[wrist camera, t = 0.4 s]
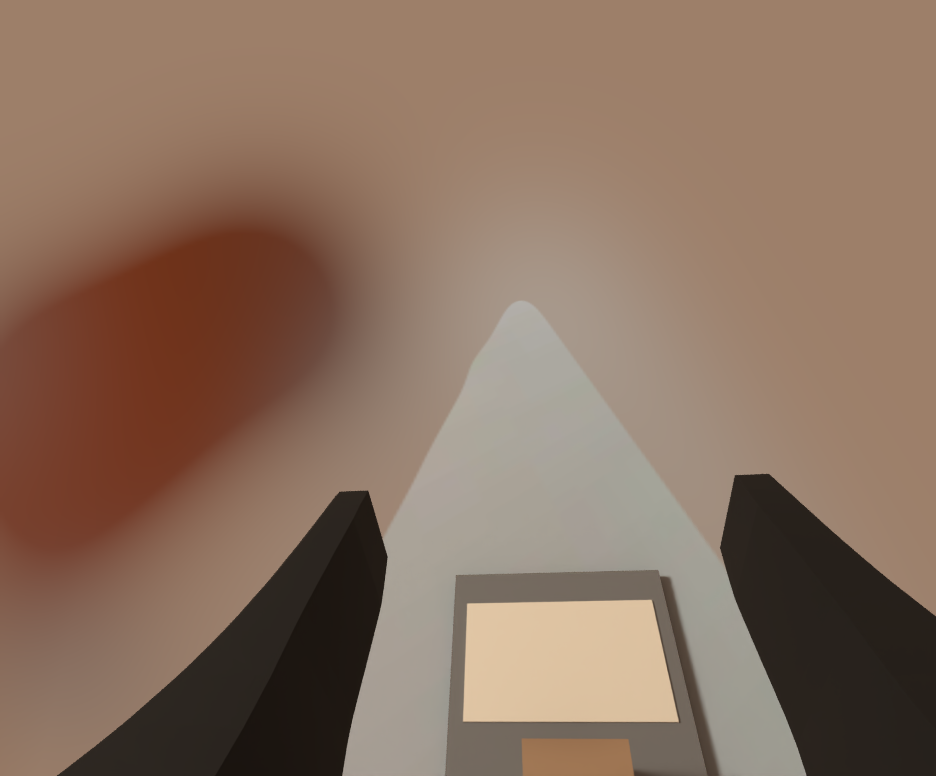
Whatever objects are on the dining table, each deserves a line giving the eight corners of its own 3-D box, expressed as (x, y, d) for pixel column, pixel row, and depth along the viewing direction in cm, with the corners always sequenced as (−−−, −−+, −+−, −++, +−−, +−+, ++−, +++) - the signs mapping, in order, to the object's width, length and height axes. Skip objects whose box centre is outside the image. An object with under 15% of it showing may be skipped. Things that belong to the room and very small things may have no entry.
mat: (786, 1123, 17) (793, 1127, 16) (430, 1098, 18) (427, 1101, 17) (656, 575, 30) (658, 569, 29) (457, 580, 31) (455, 574, 31)
